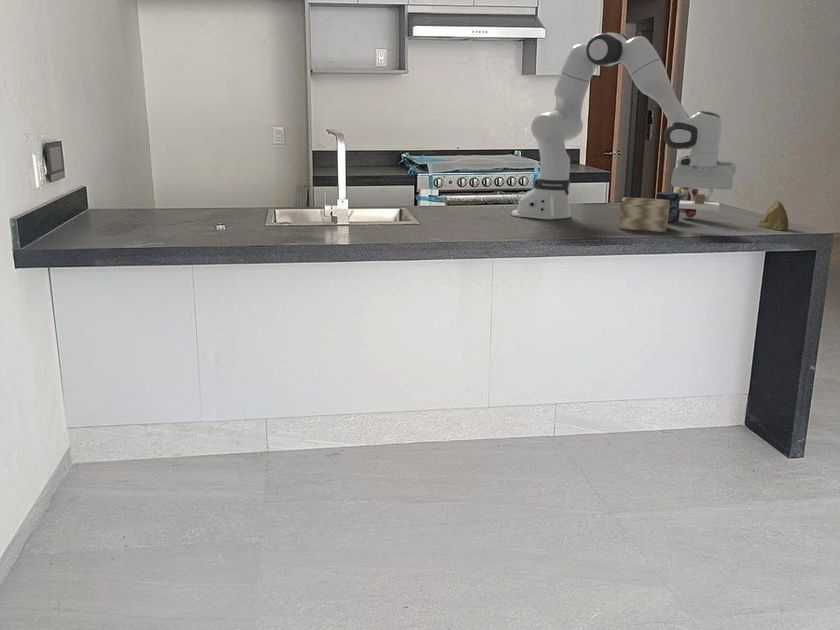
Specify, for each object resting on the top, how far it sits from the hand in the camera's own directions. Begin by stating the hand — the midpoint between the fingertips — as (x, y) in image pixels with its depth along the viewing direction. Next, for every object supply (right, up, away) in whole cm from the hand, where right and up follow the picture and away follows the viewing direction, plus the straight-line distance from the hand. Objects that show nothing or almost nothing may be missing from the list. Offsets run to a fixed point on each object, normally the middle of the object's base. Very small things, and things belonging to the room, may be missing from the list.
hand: (699, 201), depth 275 cm
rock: (+31, -8, +12) cm, 34 cm away
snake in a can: (+6, -3, +30) cm, 31 cm away
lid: (0, -2, +1) cm, 2 cm away
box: (-4, -4, +24) cm, 25 cm away
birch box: (-17, -8, +9) cm, 21 cm away
